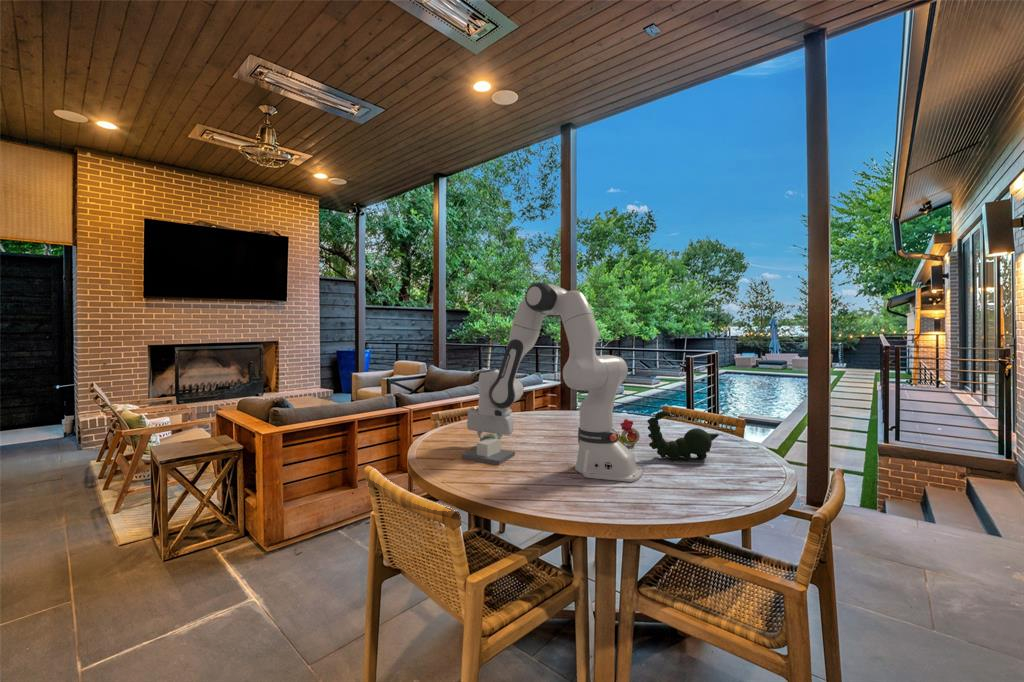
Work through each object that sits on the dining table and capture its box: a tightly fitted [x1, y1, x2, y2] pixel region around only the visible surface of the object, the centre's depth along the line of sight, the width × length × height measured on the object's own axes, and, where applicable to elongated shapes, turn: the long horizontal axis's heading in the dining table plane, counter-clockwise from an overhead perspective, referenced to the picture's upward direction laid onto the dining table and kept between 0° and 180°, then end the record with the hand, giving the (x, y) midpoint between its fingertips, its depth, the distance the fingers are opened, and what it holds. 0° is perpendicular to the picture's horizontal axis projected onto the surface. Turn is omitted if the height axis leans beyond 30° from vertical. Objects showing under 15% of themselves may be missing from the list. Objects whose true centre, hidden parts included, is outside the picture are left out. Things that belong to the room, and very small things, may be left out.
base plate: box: [461, 446, 516, 466], centre depth 167 cm, size 16×12×2 cm
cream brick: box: [476, 438, 501, 457], centre depth 167 cm, size 5×8×4 cm, turn 146°
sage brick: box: [481, 432, 498, 441], centre depth 179 cm, size 5×8×4 cm, turn 167°
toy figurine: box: [646, 410, 720, 462], centre depth 162 cm, size 9×19×25 cm
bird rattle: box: [618, 418, 640, 447], centre depth 179 cm, size 6×11×9 cm
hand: (489, 443), depth 179 cm, fingers closed on sage brick, 6 cm apart
